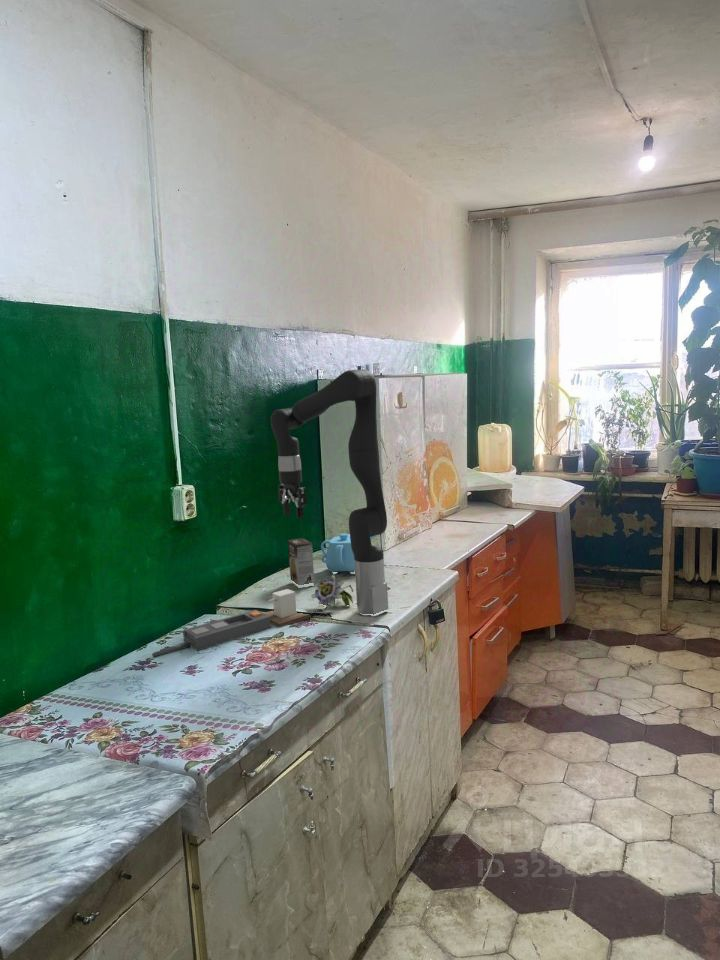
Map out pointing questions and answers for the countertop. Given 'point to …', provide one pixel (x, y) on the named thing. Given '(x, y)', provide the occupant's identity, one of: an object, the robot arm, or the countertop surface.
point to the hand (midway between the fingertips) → (293, 516)
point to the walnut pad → (286, 618)
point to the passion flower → (332, 592)
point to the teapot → (339, 554)
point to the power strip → (222, 630)
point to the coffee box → (301, 561)
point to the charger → (284, 603)
